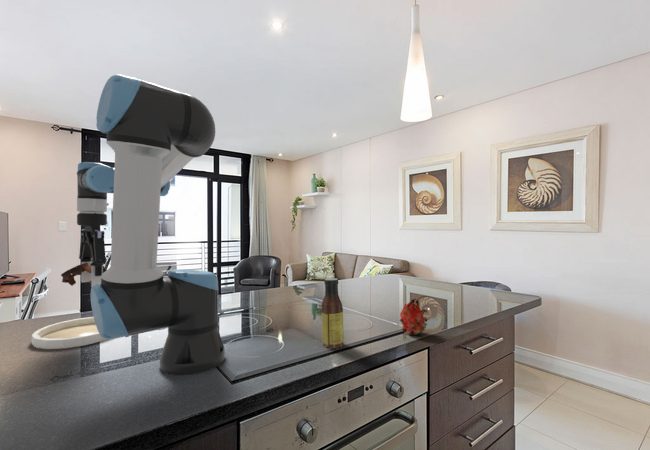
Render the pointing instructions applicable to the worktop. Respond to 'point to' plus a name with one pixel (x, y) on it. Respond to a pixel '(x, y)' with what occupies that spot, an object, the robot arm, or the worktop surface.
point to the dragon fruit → (413, 318)
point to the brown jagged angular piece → (76, 273)
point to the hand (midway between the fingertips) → (91, 284)
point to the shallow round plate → (67, 334)
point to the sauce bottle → (332, 315)
